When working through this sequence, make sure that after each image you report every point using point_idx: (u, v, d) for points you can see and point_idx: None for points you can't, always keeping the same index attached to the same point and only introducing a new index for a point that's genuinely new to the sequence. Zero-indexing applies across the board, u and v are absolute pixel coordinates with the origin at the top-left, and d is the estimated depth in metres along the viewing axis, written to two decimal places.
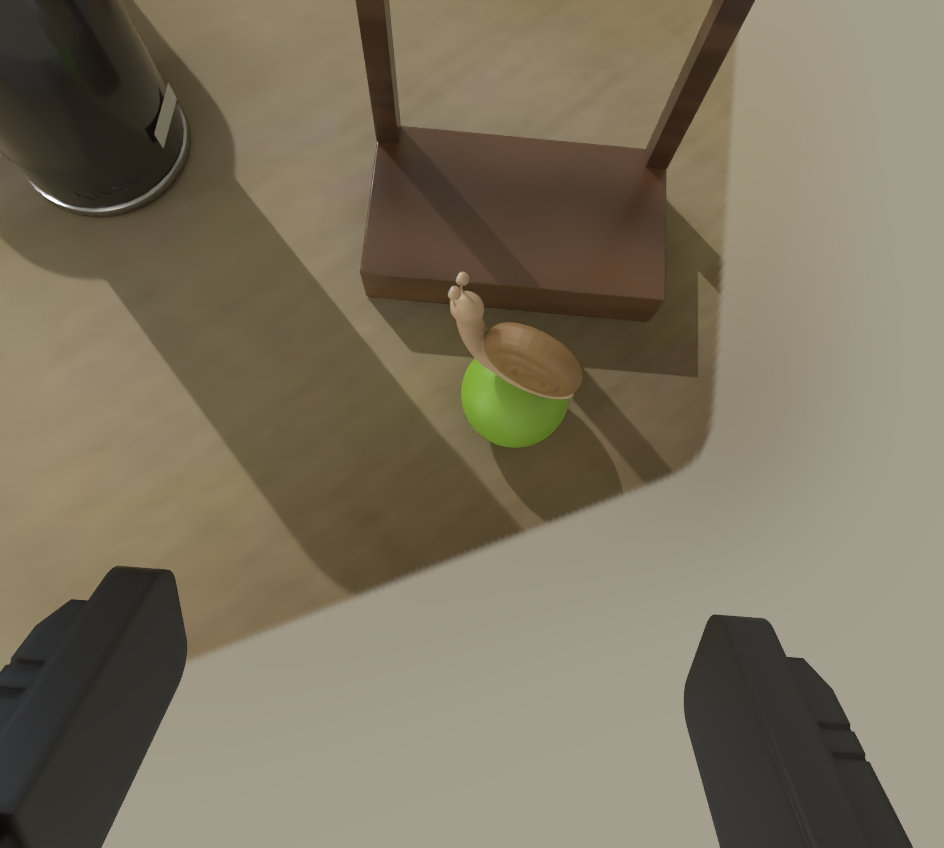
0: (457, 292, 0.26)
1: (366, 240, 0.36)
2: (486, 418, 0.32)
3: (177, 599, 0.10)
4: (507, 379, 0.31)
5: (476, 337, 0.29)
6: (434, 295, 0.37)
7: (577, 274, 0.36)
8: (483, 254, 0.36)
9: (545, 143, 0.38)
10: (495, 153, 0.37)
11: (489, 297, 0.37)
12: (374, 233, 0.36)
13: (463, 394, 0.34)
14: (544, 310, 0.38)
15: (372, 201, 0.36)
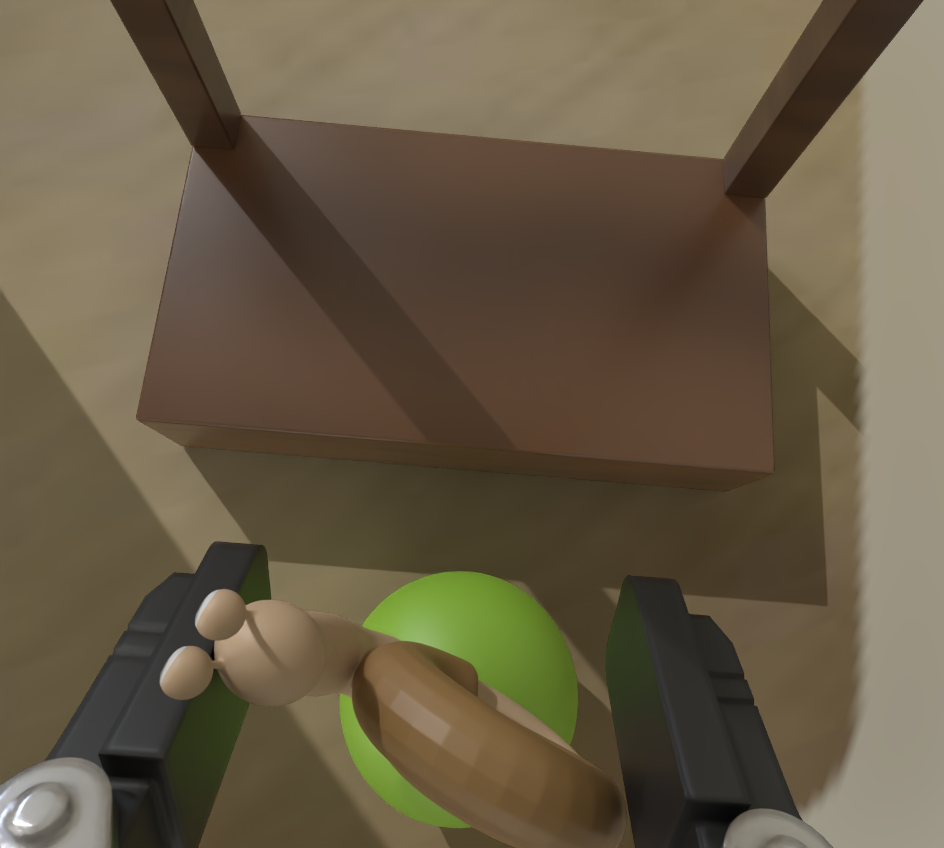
0: (185, 685, 0.07)
1: (154, 349, 0.17)
2: (384, 788, 0.14)
3: (267, 574, 0.11)
4: None
5: (324, 690, 0.10)
6: (306, 450, 0.19)
7: (591, 420, 0.17)
8: (396, 377, 0.17)
9: (526, 147, 0.19)
10: (427, 168, 0.19)
11: (414, 456, 0.18)
12: (172, 333, 0.17)
13: (340, 708, 0.15)
14: (526, 472, 0.20)
15: (173, 267, 0.18)
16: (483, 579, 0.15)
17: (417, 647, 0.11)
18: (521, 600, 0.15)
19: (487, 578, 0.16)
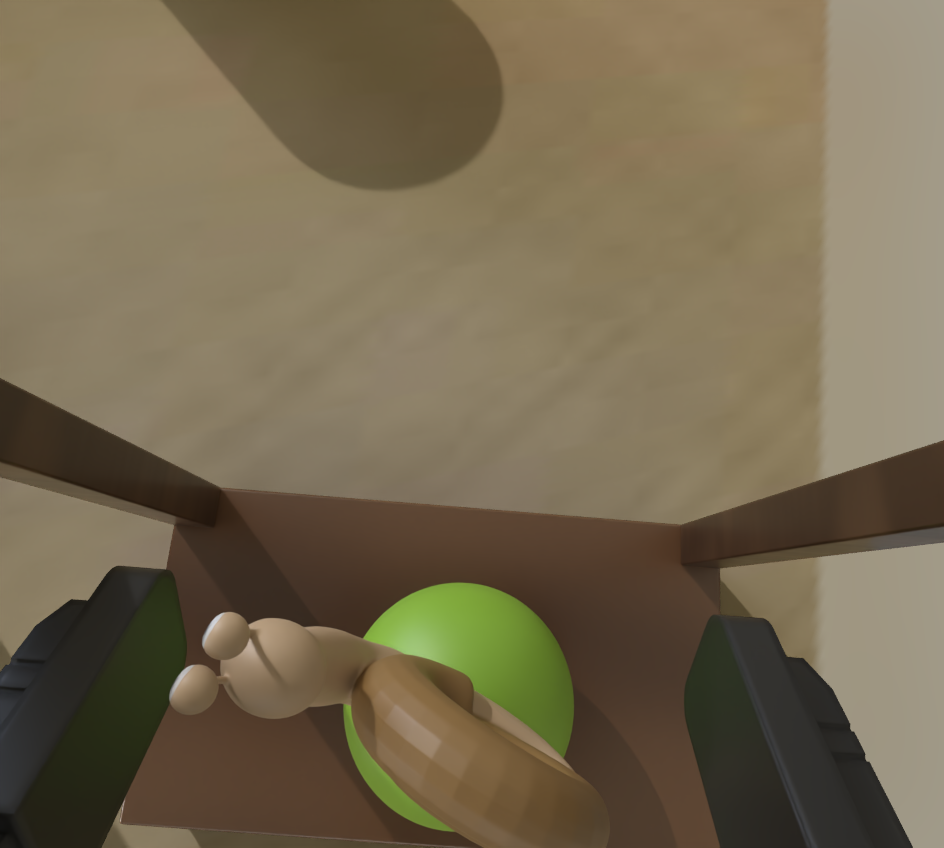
0: (192, 701, 0.08)
1: None
2: (385, 792, 0.14)
3: (177, 599, 0.10)
4: None
5: (325, 701, 0.11)
6: None
7: None
8: None
9: (492, 518, 0.20)
10: (397, 543, 0.20)
11: None
12: None
13: (344, 714, 0.15)
14: None
15: None
16: (483, 591, 0.16)
17: (414, 661, 0.11)
18: (519, 613, 0.16)
19: (487, 590, 0.16)
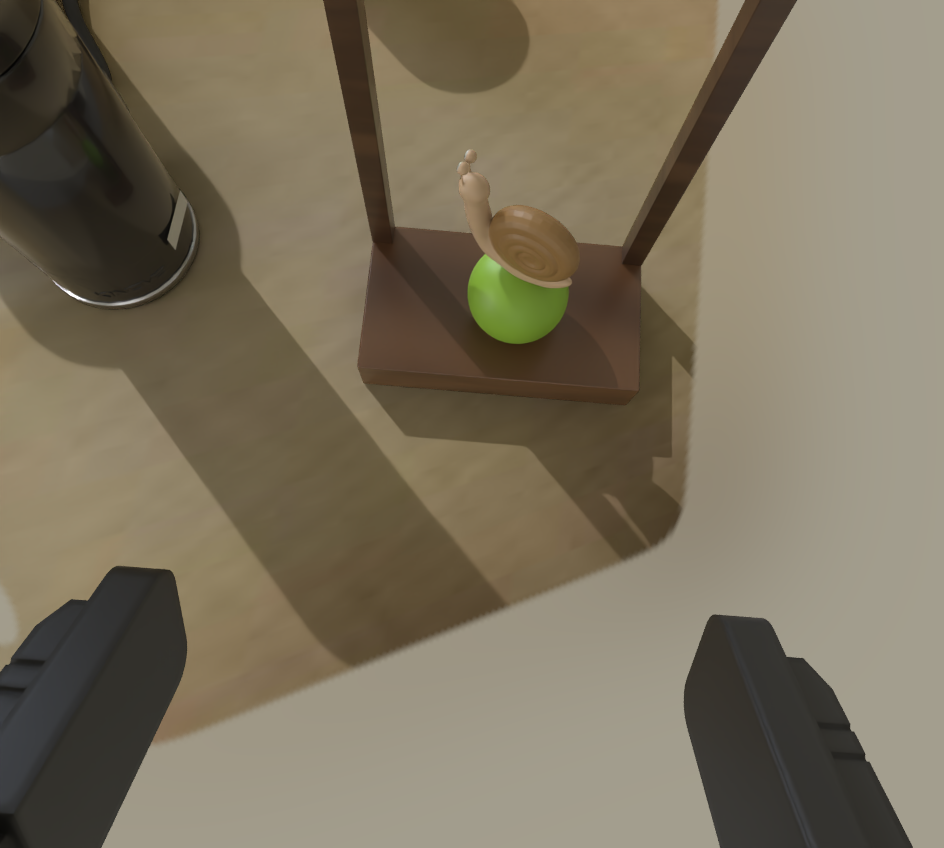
0: (465, 167, 0.28)
1: (363, 336, 0.39)
2: (490, 309, 0.35)
3: (177, 599, 0.10)
4: (510, 269, 0.33)
5: (482, 221, 0.31)
6: (426, 383, 0.40)
7: (558, 367, 0.39)
8: (471, 349, 0.39)
9: None
10: (482, 252, 0.40)
11: (477, 386, 0.40)
12: (370, 329, 0.39)
13: (469, 290, 0.36)
14: (529, 395, 0.41)
15: (368, 299, 0.39)
16: None
17: None
18: None
19: None
